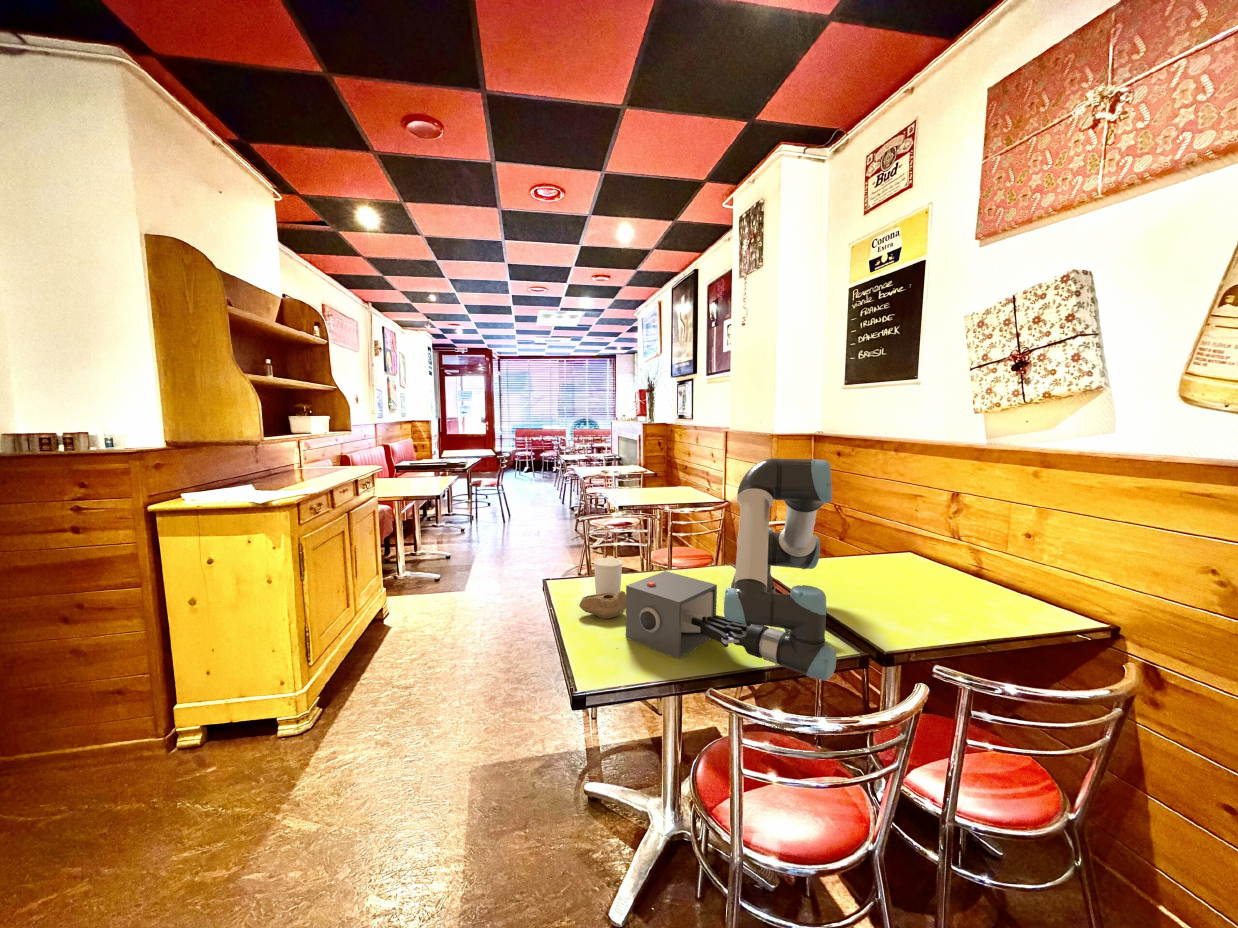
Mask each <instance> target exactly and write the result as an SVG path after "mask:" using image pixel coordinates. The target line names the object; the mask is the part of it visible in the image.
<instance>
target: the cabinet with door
mask: <svg viewBox="0 0 1238 928" xmlns="http://www.w3.org/2000/svg"><path fill="white" fill-rule="evenodd" d="M717 590H718V585H717V584H716V583H712V582H709V581H705V580H702V579H697V578H694V577H689V576H685V575H683V574H682V575H681V574H678V573H674V572H671V571H666V570H664V571H661V572H659V573H656V574H654V575H650V576H648V577H646V578H643V579H640V580H637V581H634V582H632V583H629V584H627V585H626V586H625V593H626V608H625V638H626V639H628V640H630V641H633V642H635V643H638V644H640V645H643V646H646V647H648V648H650V649H653V650H656V651H657V652H660V653H662V654H665V655H667V656H669V657H672V658H675V659H676V660H680V659H681V658H683V657H685V656H686V655H688V654H690V653H691V652H692V651H695V650H696V649H698V648H700V647H701V646H702V645H704V644H705V643H707V642H709V641H711V640H713V639H712V638H710V637H708V636H706V635H704V634H702V633H701V632H681V613H682V605H683V604H685V603H687V602H689V601H691V600H693V599H695V598H697V597H700V596H702V595H704V594H706V593H708V592H710V591H713V613H712V617H714V615H717V599H718V596H717V593H718V591H717Z"/></svg>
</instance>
